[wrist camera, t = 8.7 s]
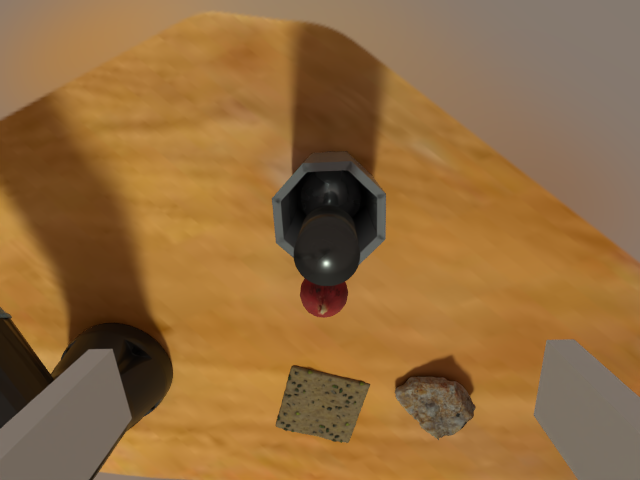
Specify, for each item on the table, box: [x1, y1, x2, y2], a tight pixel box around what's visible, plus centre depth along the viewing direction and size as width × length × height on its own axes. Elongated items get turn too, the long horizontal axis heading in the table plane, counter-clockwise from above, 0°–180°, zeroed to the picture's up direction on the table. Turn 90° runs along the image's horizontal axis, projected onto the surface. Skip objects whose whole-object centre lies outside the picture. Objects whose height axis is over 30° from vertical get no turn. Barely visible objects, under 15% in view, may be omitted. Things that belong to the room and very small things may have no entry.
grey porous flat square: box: [276, 366, 370, 443], centre depth 52 cm, size 12×12×1 cm
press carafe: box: [272, 151, 386, 264], centre depth 36 cm, size 9×11×14 cm
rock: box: [395, 377, 475, 440], centre depth 48 cm, size 9×6×10 cm
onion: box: [300, 279, 348, 317], centre depth 42 cm, size 6×6×8 cm
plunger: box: [294, 170, 361, 286], centre depth 30 cm, size 7×7×19 cm
